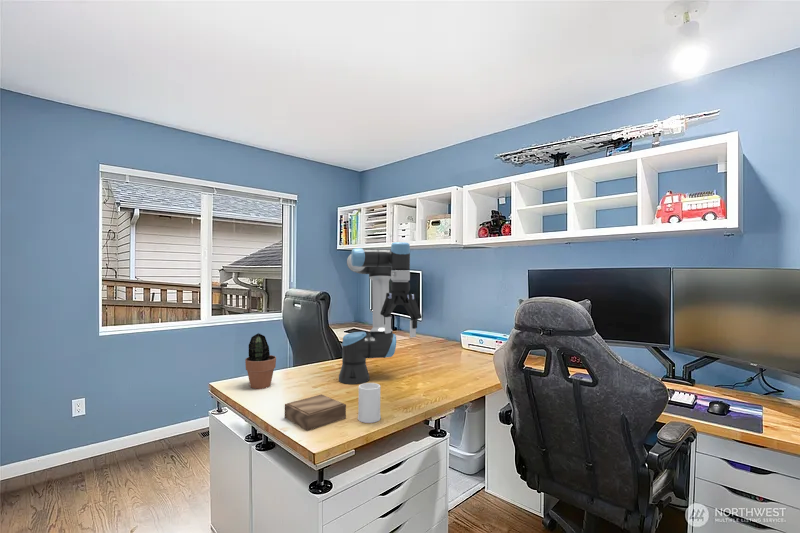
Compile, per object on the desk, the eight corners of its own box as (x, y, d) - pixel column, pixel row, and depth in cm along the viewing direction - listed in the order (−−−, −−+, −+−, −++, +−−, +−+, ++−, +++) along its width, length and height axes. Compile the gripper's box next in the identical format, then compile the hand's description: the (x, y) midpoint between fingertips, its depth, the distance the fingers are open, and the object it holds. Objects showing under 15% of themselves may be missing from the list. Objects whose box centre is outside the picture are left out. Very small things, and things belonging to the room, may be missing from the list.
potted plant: (281, 386, 180) (281, 332, 180) (252, 392, 170) (253, 336, 170) (267, 380, 189) (268, 329, 190) (239, 386, 180) (240, 332, 180)
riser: (284, 417, 142) (284, 403, 142) (321, 406, 153) (321, 393, 153) (307, 430, 130) (308, 414, 130) (345, 418, 142) (346, 403, 142)
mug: (357, 411, 148) (357, 380, 149) (379, 410, 149) (379, 379, 150) (357, 423, 137) (357, 389, 137) (381, 422, 138) (381, 389, 138)
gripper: (372, 280, 158) (371, 332, 158) (417, 282, 141) (417, 339, 141) (385, 280, 164) (384, 330, 163) (430, 281, 146) (430, 337, 146)
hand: (400, 335), depth 152 cm, fingers open, 13 cm apart
